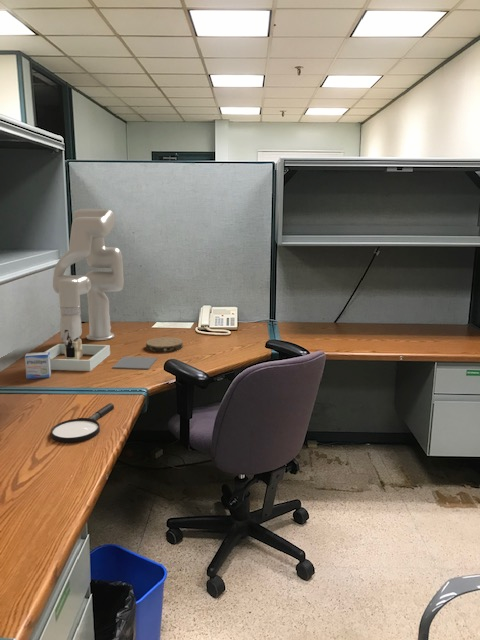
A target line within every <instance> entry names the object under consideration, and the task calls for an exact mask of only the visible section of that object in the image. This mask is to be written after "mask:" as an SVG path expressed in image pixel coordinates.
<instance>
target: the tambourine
mask: <svg viewBox="0 0 480 640" xmlns="http://www.w3.org/2000/svg"><path fill="white" fill-rule="evenodd" d="M145 343H146V344H145V346H146V347H145V349H146V350H147V351H148V352H152V353H165V354H166V353H173V352H178V351H180V350H182V349H183V348H182V347H184V346H183V339H180V338H177V337H173V336H171V337H169V336H165V337H164V336H163V337H154V338H150V339H148V340H146V341H145ZM181 348H182V349H181ZM177 350H178V351H177Z"/></svg>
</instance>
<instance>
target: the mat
mask: <svg viewBox="0 0 480 640" xmlns="http://www.w3.org/2000/svg"><path fill="white" fill-rule="evenodd" d="M157 360H158V357H149V356H148V357H147V356H145V357H144V356H123V357H121V359H119V360H118V361H117V362H116V363H115V364H114V365H113V366H112V367H111V368H112V369H121V370H122V369H124V370H149V369H151V367H152V366H153V365H154V363H155V362H156V361H157Z"/></svg>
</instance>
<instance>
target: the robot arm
mask: <svg viewBox="0 0 480 640" xmlns="http://www.w3.org/2000/svg"><path fill="white" fill-rule="evenodd" d="M115 223H116V217H115V213H114V212H113V211H112V210H111V209H108V208H80V209H77V210H75V211H74V212H73V220H72V223H71V229H70V238H69V243H68V244H69V245H68V250H67V252H65V253H63V255H62V256H61V257H60V259H59V260H58V261H57V262H56V264H55V266H54V270H53V271H54V272H53V277H52V288H53V290H54V292H55V293H56V294H58V295H59V297H58V299H59V309H60V311H59V312H60V315H61V316H60V327H59V328H60V340H61V341H62V344H65V348H66V356H67V357H70V358H74V357H75V349H74V347H73V343H74V340H75V339H81V336H82V334H83V329H82V327H83V326H82V318H81V314H82V309H81V295H86V296H87V309H88V310H87V311H88V323H89V325H88V327H89V328H88V329H89V333H88V334H86V339H87V340H89V341H107V340H110V339H111V340H112V339H113V338H115V334H114V333H113V332H111V329H112V326H111V318H110V317H111V315H110V300H109V298H108V296H107V295H106V293H105V292H121V291H122V290H123V288H124V283H125V280H124V262H123V261H124V260H123V254H122V252H121V250H120V248H118V247H115V246H106V245H105V244H106V243H105V238H106V237H107V236H108V235H109V234H110V232H111V231H112V230H113V227H114V226H115ZM85 259H86V264H87V265H88V267H90V268H94V269H111V270H91V271H88V272H86V274H85V275H76V274H75V275H74V274H73V275H72V274H71V275H69V274H68V275H67V274H65V272H66V271H67V269H68V268H69V267H71V266H72V265H74V264H76V263H77V262H80V261H82V260H85ZM68 339H71V340H68ZM68 341H71V343H70V342H68Z"/></svg>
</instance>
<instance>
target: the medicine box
mask: <svg viewBox="0 0 480 640" xmlns="http://www.w3.org/2000/svg"><path fill="white" fill-rule="evenodd" d="M24 363H25V364H24V365H25V376H26V377H25V378H26V380H35V379H36V380H37V379H48V378H49V379H50V377H51V374H52V370H51V368H50V353H49V352H45V351H44V352H26V354H25V356H24Z"/></svg>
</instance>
